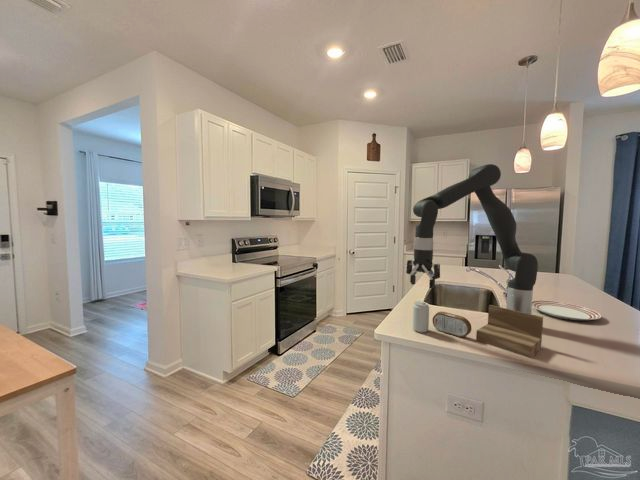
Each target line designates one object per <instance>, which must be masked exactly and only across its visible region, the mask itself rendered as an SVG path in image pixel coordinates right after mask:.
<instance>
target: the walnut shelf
mask: <svg viewBox="0 0 640 480" xmlns="http://www.w3.org/2000/svg"><path fill="white" fill-rule="evenodd" d="M543 325H544V316H540V315H536V314H532V313H531V314H528V313H523V312H519V311H515V310H510V309H506V307H501V306H496V305H492V304H488V313H487V324H485V325H484V326H482V327H480V328H479V329H476V335H475V336H476V338H475V341H477V342H480V343H484V344H487V345H490V346H493V347H496V348H499V349H502V350H505V351H507V352H511V353H514V354H517V355H519V356H523V357H527V358H528V359H529V358H530V359H532V358H533V357H534V356H535V355H536V354H537V353H538V352H539V351H540V350H541V349H542V336H543Z"/></svg>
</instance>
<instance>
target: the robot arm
mask: <svg viewBox="0 0 640 480" xmlns="http://www.w3.org/2000/svg"><path fill="white" fill-rule="evenodd" d="M501 176H502V173H501V170H500V168H499V167H498V166H497V165H496V164H493V163H491V164H490V163H487V164H484V165H481V166H478V167H475V168H473V169H471V170H470V172H469V174H468V178H466V179H463V180H461V181H459V182H457V183H454V184H452V185H450V186H447V187H445V188H443V189H441V191H438V192H437V193H435V194H432V195H430V196H428V197H424V198H423V199H420V200H418V201H417V202H416V203H415V204H414V205H413V206H412V207H413V208H412V211H413V213H414V215H415V216H416V217H418V218H420V222H419V223H417V224H416V226H415V230H414V231H415V234H414V236H415V238H414V243H413V259H414V260H413V259H409V260H407V261H406V274H408V275H409V276H410V277H409V278H410V279H409V282H410V285H413V286H414V285H415V284H416V277H417V276H416V274H417V273H423V274H425V275H427V276H428V279H429V285H428V286H429V288H428V289H434V288H435V286H436V280H439V279H440V278H441V264H440V263H433V258H434V227H435V224H436V221H437V217H438V213H439V210H442V209H444V208H447V207H449V206H450V205H453V204H454V203H456V202H458V201H460V200H461V199H463V198H465V197H467V196H469V195H471V194H472V193H474V194H475V195H476V197H477V198H478V201H479V203H480V204H481V206H482V208H483V211H484V213H485V215H486V217H487V221H488V223H489V225H490V227H491V229H492V231H493V232H494V233H493V234H494V235H495V238H496V241H497V242H498V243H497V244H498V245H499V247H500V251H501V254H502V258H503V260H504V263H505V264H504V265H505V266H506V268H507V269H508V270H510V271H513V272H515V273H514V274H515V275H514V278H513V279H509V280H508V282H507V292H506V294H507V295H506V307H505V308H506V309H510V310H515V311H519V312H523V313H528V314H532V310H533V307H532V301H533V293H534V286H535V285H536V281H537V276H538V269H539V263H538V259H537V257H536V256H535V255H533V254H532V253H527V252H522V251H521V249H520V248H519V244H518V243H517V239H516V233H517V222H516V220H515V217H514V215H513V212H512V210H511V209H510V208H509V206H508V205H506V204H505V203H504V202H503V201H502V199H500V198H498V197H497V196H496V194H495V193H494V192H493V189H492V186H494V185H496V184H497V183H498V182H499V181H500V179H501ZM413 266H414V267H413ZM432 268H433V269H432Z"/></svg>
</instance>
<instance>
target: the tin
mask: <svg viewBox="0 0 640 480" xmlns="http://www.w3.org/2000/svg"><path fill="white" fill-rule="evenodd" d="M432 324H433V327H434V328H435V329H436V330H437V331H439V332H440V333H445V334H447V335H452V336H455V337H459V338H464V337H467V336H468V335H469V334H471V332H472V325H471V322H470V321H469V319H468V318H466V317H465V316H462V315H458V314H454V313H451V312H450V313H449V312H446V311H437V312H436V313H435V314H434V315H433V317H432Z"/></svg>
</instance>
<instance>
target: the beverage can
mask: <svg viewBox="0 0 640 480" xmlns="http://www.w3.org/2000/svg"><path fill="white" fill-rule="evenodd" d="M412 309H413V310H412V330H414V332H416V333H426V332H428V331H429V323H430V322H429V320H430V305H429V303H428V302H425V301H420V300H419V301H414V302H413V308H412Z"/></svg>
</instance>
